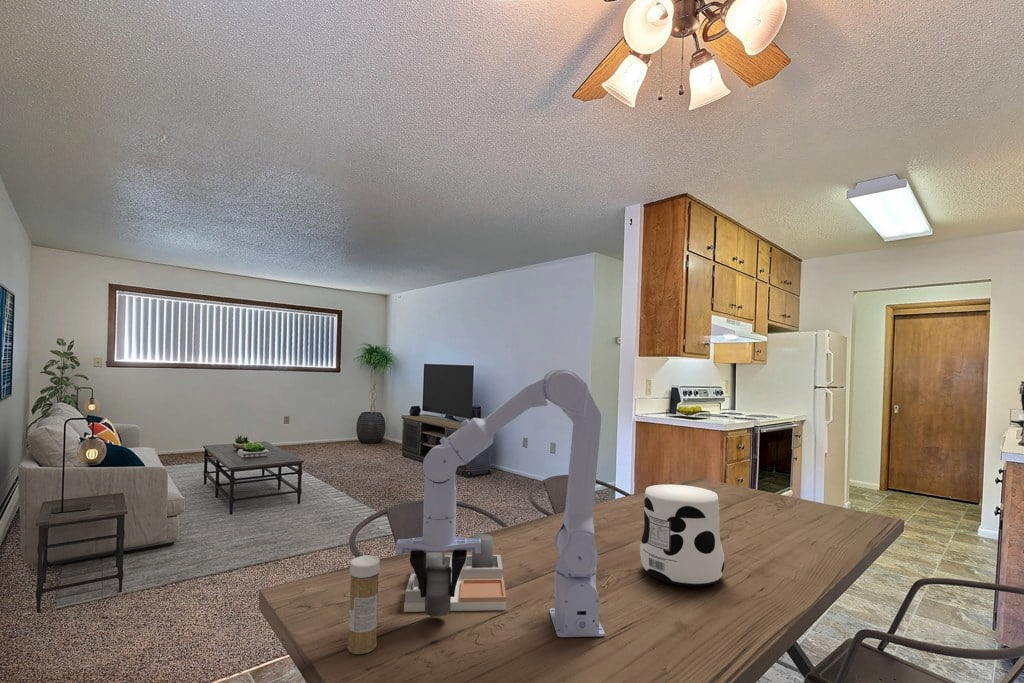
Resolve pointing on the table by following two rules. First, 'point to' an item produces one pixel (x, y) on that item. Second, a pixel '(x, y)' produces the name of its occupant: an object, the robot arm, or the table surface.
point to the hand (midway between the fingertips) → (438, 594)
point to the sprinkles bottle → (363, 604)
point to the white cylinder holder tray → (466, 581)
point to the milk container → (682, 535)
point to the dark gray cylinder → (437, 590)
